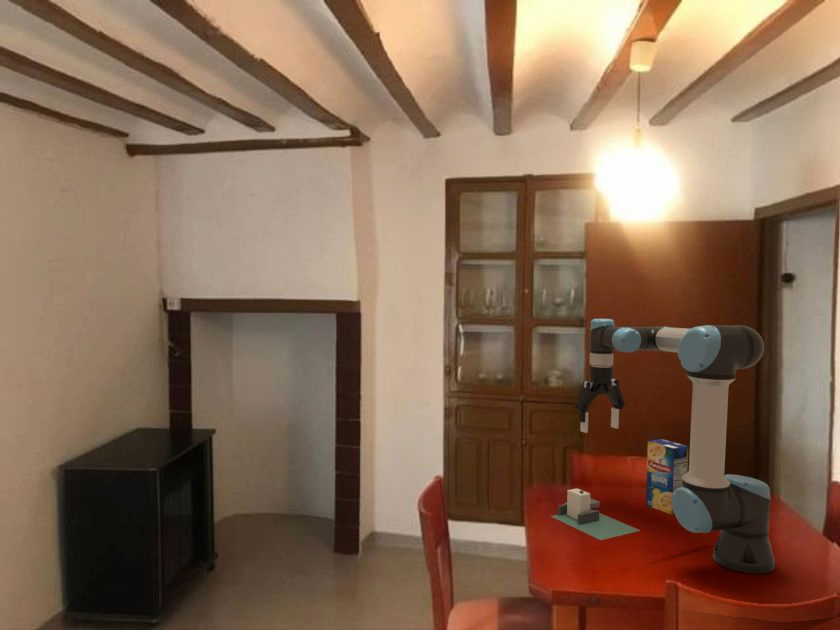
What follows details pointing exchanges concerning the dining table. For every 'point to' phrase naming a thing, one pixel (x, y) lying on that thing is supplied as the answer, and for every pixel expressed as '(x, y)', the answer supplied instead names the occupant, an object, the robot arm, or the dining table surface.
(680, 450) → the beverage box
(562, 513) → the board
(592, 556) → the dining table surface
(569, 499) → the plug
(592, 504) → the button
